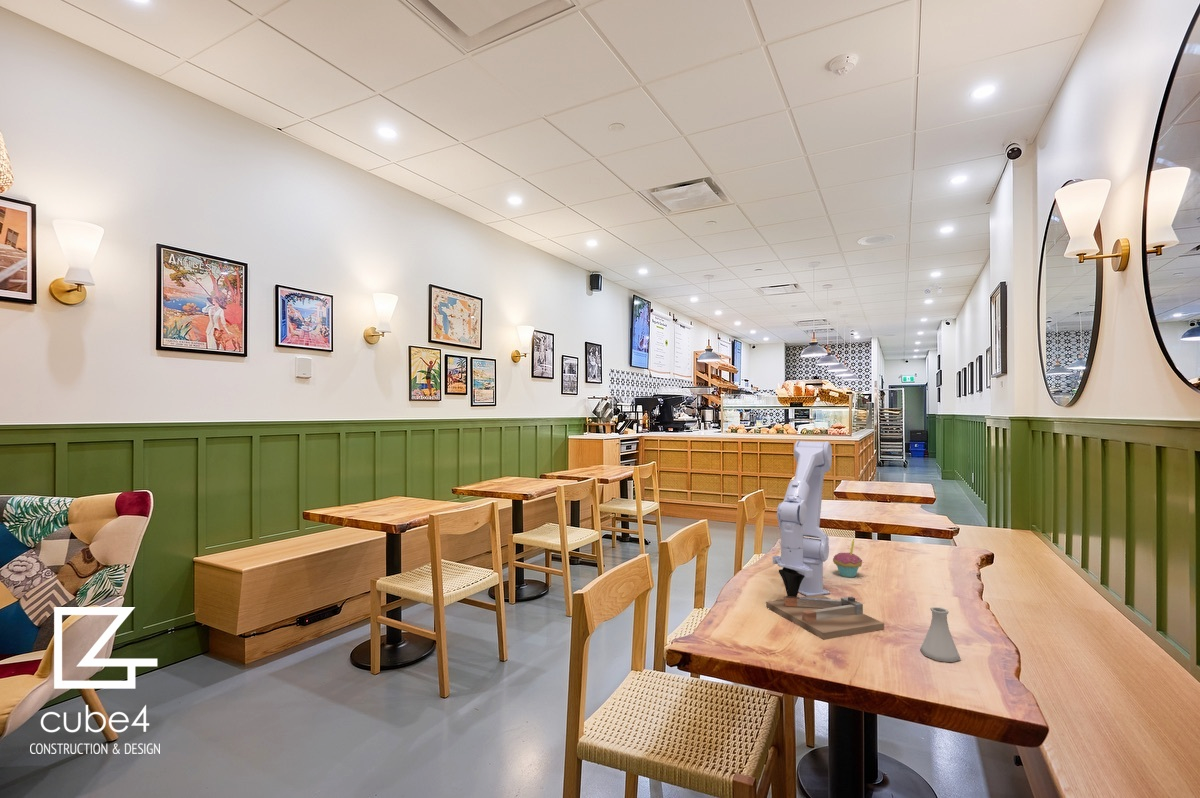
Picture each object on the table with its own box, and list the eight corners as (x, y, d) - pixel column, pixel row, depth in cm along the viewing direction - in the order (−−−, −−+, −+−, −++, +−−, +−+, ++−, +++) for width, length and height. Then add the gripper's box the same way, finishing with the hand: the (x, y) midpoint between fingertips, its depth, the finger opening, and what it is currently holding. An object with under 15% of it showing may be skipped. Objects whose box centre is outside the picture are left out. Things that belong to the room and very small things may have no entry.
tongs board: (766, 607, 149) (766, 589, 149) (820, 599, 155) (820, 582, 155) (823, 639, 128) (823, 618, 128) (884, 629, 134) (884, 609, 134)
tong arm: (840, 607, 144) (840, 599, 144) (841, 609, 143) (841, 601, 143) (784, 603, 147) (784, 595, 147) (784, 606, 145) (784, 598, 145)
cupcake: (863, 574, 179) (863, 536, 179) (860, 580, 172) (859, 542, 172) (835, 569, 184) (835, 533, 184) (830, 576, 176) (830, 538, 177)
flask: (913, 649, 123) (912, 604, 123) (944, 648, 124) (943, 603, 124) (935, 664, 116) (935, 616, 116) (968, 662, 117) (967, 615, 117)
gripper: (763, 541, 155) (763, 590, 155) (796, 554, 142) (797, 607, 141) (784, 539, 158) (784, 587, 157) (819, 552, 144) (820, 604, 144)
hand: (792, 596), depth 150 cm, fingers closed
